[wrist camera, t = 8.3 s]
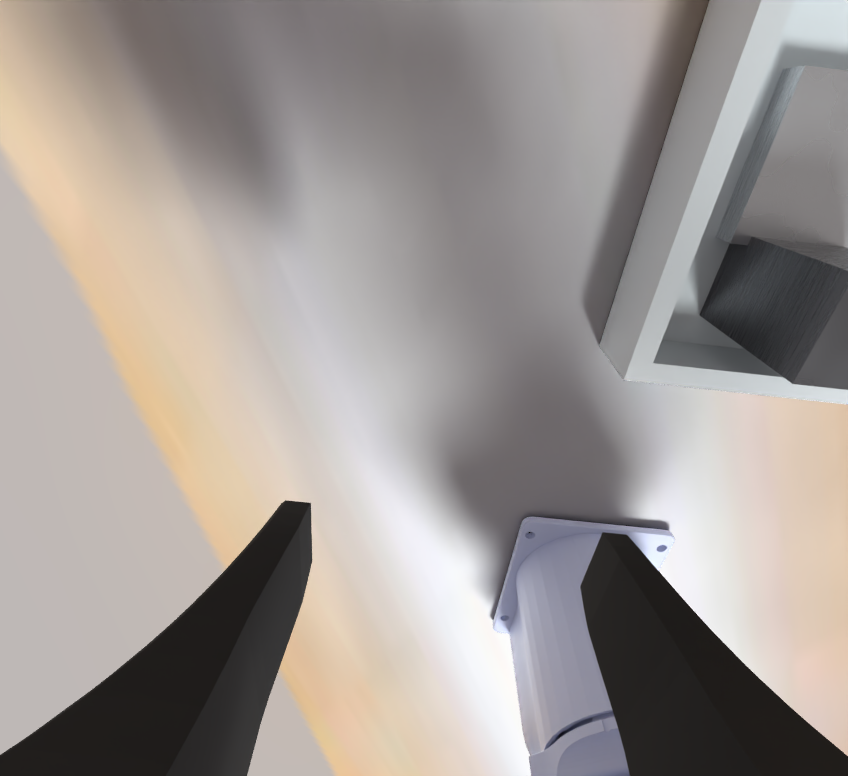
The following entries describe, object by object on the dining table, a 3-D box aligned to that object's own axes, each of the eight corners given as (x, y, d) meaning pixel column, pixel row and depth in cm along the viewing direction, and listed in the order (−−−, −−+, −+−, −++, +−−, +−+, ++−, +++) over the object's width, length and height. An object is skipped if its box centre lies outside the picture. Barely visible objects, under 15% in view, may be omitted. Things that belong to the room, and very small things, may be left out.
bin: (822, 370, 20) (880, 408, 17) (599, 346, 19) (623, 380, 17) (1051, -13, 13) (1198, -46, 11) (727, -55, 13) (797, -99, 11)
